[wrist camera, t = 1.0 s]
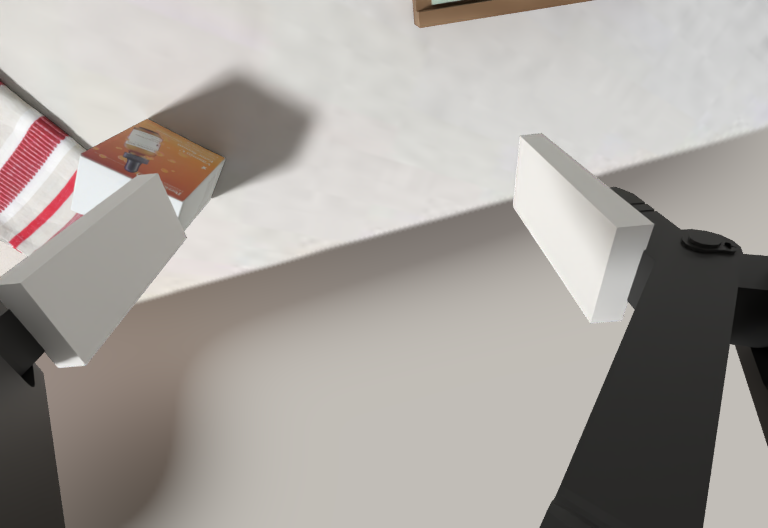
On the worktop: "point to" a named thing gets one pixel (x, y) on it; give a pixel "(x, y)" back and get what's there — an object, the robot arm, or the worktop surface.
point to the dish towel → (34, 175)
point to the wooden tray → (475, 9)
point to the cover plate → (441, 1)
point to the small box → (148, 169)
